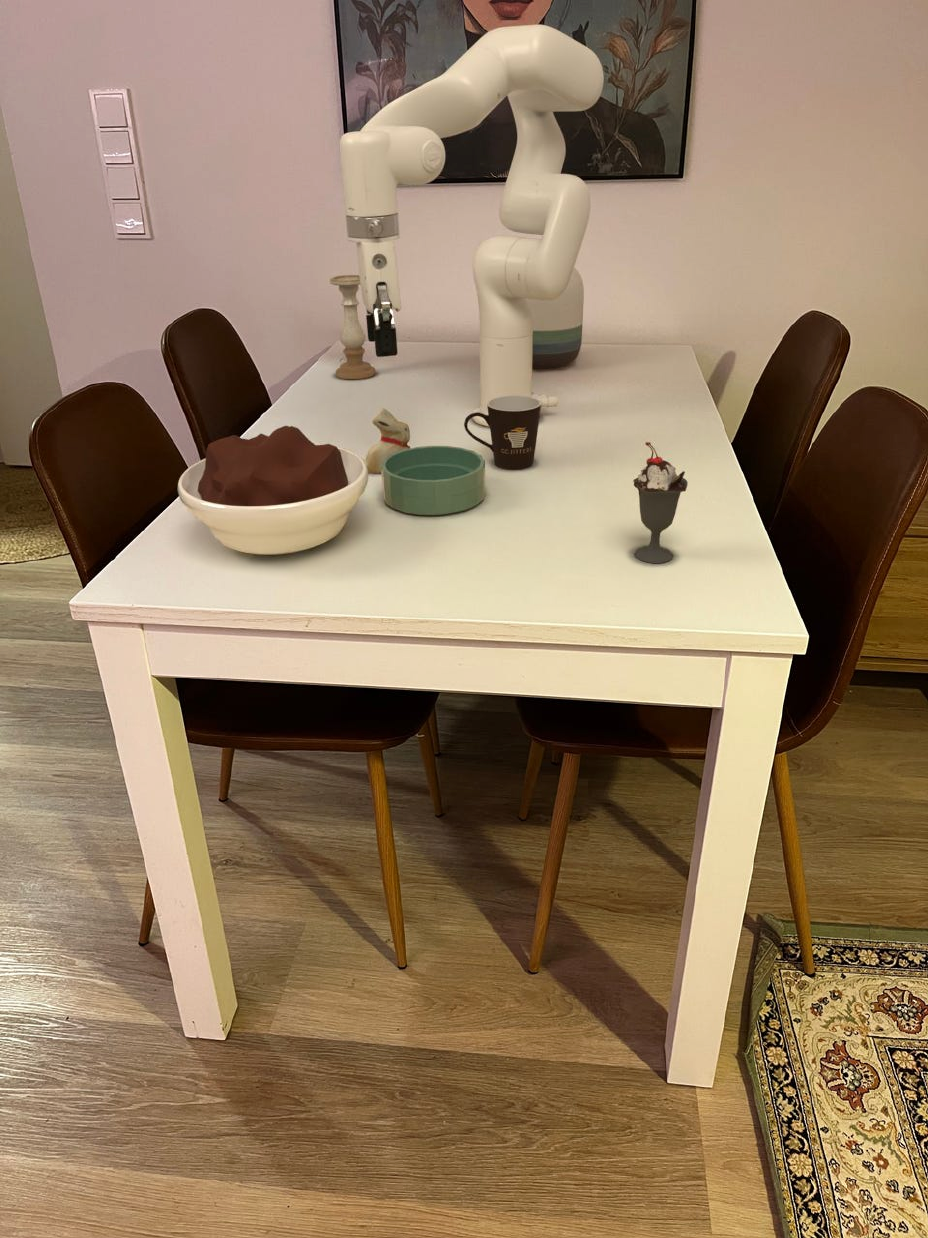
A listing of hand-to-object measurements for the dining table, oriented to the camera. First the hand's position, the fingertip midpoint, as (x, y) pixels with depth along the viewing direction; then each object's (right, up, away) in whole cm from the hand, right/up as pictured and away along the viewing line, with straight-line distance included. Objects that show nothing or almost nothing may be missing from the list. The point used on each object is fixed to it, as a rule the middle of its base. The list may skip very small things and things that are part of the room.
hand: (382, 347), depth 140 cm
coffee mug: (+19, -16, +10) cm, 27 cm away
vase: (+30, +16, +65) cm, 73 cm away
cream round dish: (-13, -31, -14) cm, 36 cm away
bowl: (+8, -23, -3) cm, 25 cm away
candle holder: (-11, +12, +60) cm, 63 cm away
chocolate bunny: (0, -17, +9) cm, 19 cm away
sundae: (+37, -34, -22) cm, 55 cm away
